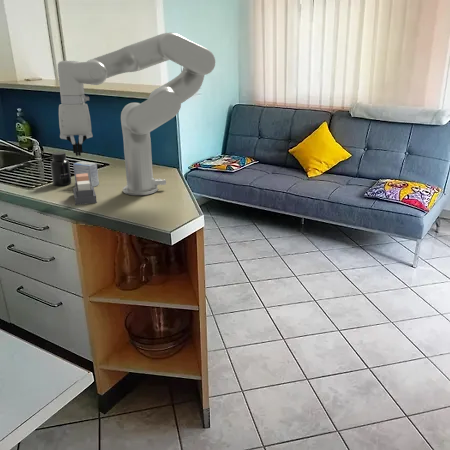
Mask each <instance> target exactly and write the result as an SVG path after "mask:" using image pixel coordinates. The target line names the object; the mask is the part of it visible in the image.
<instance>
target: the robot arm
mask: <svg viewBox="0 0 450 450" xmlns="http://www.w3.org/2000/svg"><path fill="white" fill-rule="evenodd" d="M167 61H172V62H174V63H175V64H178V65H179V66H181V67H183V68H182V70H181V72H180V73H179V74H178V75H177V76H175V77H174V78H172V79H171V80H169V81H168V82H165V83H164V84H163V85H161V86H159V87H156V88H155V89H154V90H151V93H150V94H149V95H148V99H145V100H144V101H143V102H141V103H140V102H130V103H129V102H128V104H126V105H124V107H123V108H122V111H121V112H120V123H121V124H120V125H121V130H122V131H121V132H122V139H123V141H122V142H123V153H124V165H125V176H126V178H125V179H126V185H125V186H123V188H122V191H123V194H125V195H129V196H147V195H151V194H155V193H156V192H157V191H158V190H159V189H158V185H161V186H162V185H167V180H166V179H165V178H164V179H162V178H154V175H153V161H152V160H153V157H152V142H151V141H152V140H151V132H153V131H154V130H156V129H158V128H159V127H160V126H162V125H165V123H167V122H169V121H170V120H172V119H173V118H174V117H176V116H177V114H178V113H179V112H180V110H181V106H182V104H183V103H185V102H186V101H188V100H189V99H190V98H192V97H194V96H195V94H197V93H198V91H199V90H200V89H201V87H202V84H203V83H204V79H205V76H206V75H209V74H211V73H212V72H213V70H214V69H215V67H216V57H215V55H214V54H213V52H212V51H211V50H210V49H208V48H206V47H205V46H202V45H200V44H198V43H196V42H193V41H191V40H189V39H187V38H186V37H184V36H182V35H180V34H179V33H176V32H164V33H161V34H157V35H155V36H152V37H148V38H146V39H144V40H140V41H137V42H134V43H132V44H129V45H126V46H123V47H122V48H119V49H117V50H114V51H112V52H108V53H106V54H102V55H100V56H97V57H94V58H91V59H89V60H86V61H77V60H60V61H59V62H58V63H57V75H58V85H59V93H60V103H61V104H59V105H58V125H59V132H60V133H59V138H60V139H61V140H67V142H70V144H72V151H73V154H75V157H81V156H82V153H83V143H84V142H85V141H86V140H87V139H90V138H93V136H94V135H93V132H92V121H91V115H90V111H89V110H90V109H89V106H88V103H86V102H87V101H90V97H89V96H88V95H85V88H84V84H85V85H91V86H92V85H93V86H98V85H101V84H103V83H104V82H106V80H107V79H109V78H111V77H116V76H117V75H121V74H126V73H136V72H139V71H143V70H144V69H148V68H150V67H153V66H156V65H159V64H162V63H164V62H167ZM75 136H78V141H76V140H75Z"/></svg>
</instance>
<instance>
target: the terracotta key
mask: <svg viewBox="0 0 450 450" xmlns="http://www.w3.org/2000/svg"><path fill="white" fill-rule="evenodd" d="M76 180H77V181H88V180H89V177H88V173H84V174H76Z"/></svg>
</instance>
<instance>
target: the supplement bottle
mask: <svg viewBox="0 0 450 450" xmlns="http://www.w3.org/2000/svg"><path fill="white" fill-rule="evenodd" d="M51 155H52V159H53V160H52V161H50V170H51V178H52V184H53V186H56V187H65V186H66V187H67V186H69V185H71V184H72V175H71V167H70V165H71V164H70V161H69V160H68V159H67V155H66V152H64V151H63V152H61V151H60V152H59V151H58V152H53V153H52V154H51Z"/></svg>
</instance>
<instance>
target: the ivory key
mask: <svg viewBox="0 0 450 450" xmlns="http://www.w3.org/2000/svg"><path fill="white" fill-rule="evenodd" d="M77 186H78V191H83V190H91V189H90V182H89V180H88V181H77Z"/></svg>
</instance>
